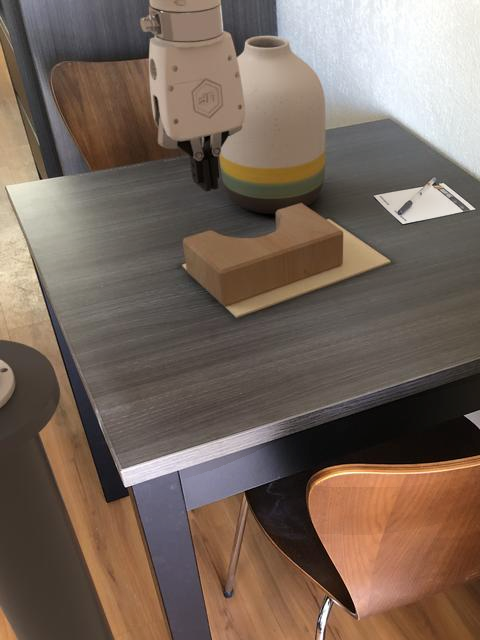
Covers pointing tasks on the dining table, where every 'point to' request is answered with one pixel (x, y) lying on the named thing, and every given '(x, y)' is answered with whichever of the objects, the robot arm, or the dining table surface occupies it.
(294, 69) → the vase
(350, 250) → the felt mat
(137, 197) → the dining table surface
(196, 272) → the decorative block
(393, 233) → the dining table surface
